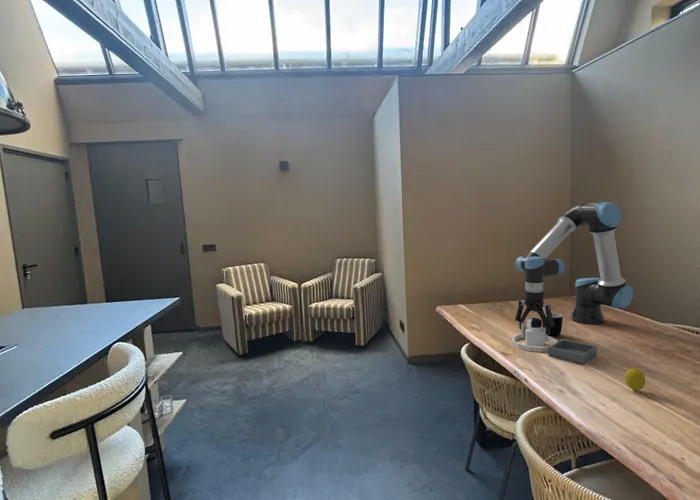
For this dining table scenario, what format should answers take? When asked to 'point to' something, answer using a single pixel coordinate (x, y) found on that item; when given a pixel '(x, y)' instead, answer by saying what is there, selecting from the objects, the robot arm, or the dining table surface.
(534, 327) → the medicine bottle
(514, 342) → the ring holder
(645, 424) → the dining table surface
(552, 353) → the tray
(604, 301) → the robot arm
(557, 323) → the mug
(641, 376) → the lemon
